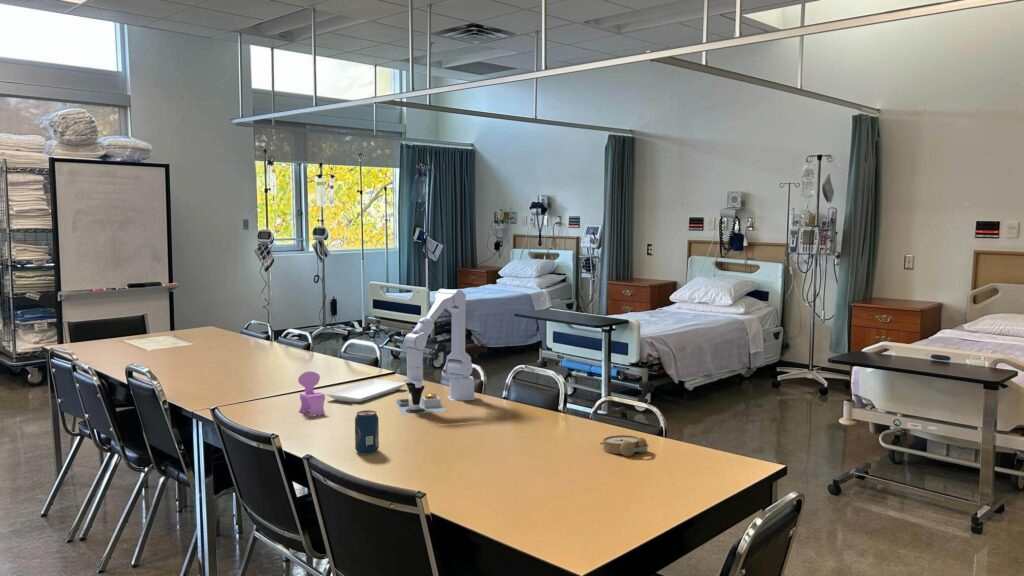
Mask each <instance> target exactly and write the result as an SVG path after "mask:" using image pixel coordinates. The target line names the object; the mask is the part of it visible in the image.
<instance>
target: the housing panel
mask: <svg viewBox="0 0 1024 576" xmlns="http://www.w3.org/2000/svg"><path fill="white" fill-rule="evenodd" d="M441 401H442V400H441V398H440V397H439V395H437V396H436V399H426V397H425V395H423V396H422V395H421V399H420V408H423V409H425V411H424V412H421V413H420V414H431V413H441V412H442V413H445V412H448V410H447V409H446V408H445V407H444V406H443V404H441ZM394 402H395V404H396V405H397V408H399V411H400V412H401V413H402V415H416V414H419V413H408V412H406V409H408V408H409V398H401V399H400V398H399V399H397V400H394Z"/></svg>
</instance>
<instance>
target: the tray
mask: <svg viewBox="0 0 1024 576" xmlns="http://www.w3.org/2000/svg"><path fill="white" fill-rule="evenodd" d="M405 386H407V385H406V382H399V381H391V380H384V379H375V378H374V379H369V380H365V381H362V382H359V383H356V384H355V383H354V384H353V385H349V386H346V387H343V388H339V389H336V390H333V391H329V392H326V393H325V395H326V396H327V397H329V398H331V399H334V400H336V402H344V403H363V402H365V401H368V400H370V399H373V398H376V397H381V396H382V395H385V394H388V395H389V394H391V393H394V392H397V391H398V390H400V389H402V388H403V387H405Z"/></svg>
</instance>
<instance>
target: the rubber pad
mask: <svg viewBox="0 0 1024 576" xmlns="http://www.w3.org/2000/svg"><path fill="white" fill-rule="evenodd" d="M424 411H425V409H423V408H420V409H419V410H409V408H408V409H406V412H408V413H418V414H422V413H421V412H424Z"/></svg>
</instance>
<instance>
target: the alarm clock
mask: <svg viewBox="0 0 1024 576" xmlns="http://www.w3.org/2000/svg"><path fill="white" fill-rule="evenodd" d="M599 445H603V451H604V452H606V453H609V454H615V455H617V454H618V455H622V456H623V457H627V458H629V457H632V456H634V454H635V453H639V454H644V453H645V452H646V451H647V450H648V448H649V444H648V443H647V440H646V439H645V438H644V437H638V436H635V435H629V434H628V435H626V434H624V435H621V434H620V435H611V436H609V435H608V436H606V437H604V438H603V439H602V442H600V443H599Z"/></svg>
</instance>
